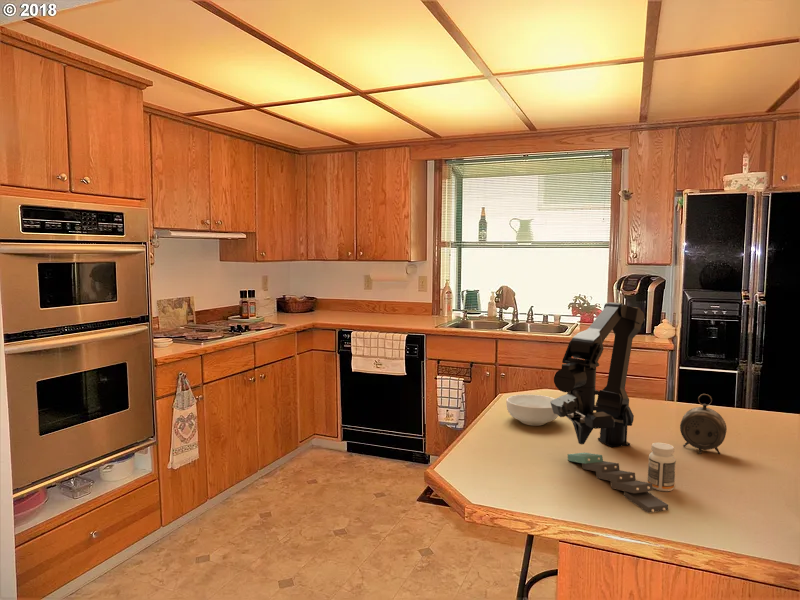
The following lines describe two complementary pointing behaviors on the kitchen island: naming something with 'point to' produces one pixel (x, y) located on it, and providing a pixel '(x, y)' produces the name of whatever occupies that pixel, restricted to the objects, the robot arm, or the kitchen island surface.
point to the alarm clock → (703, 428)
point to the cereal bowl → (531, 409)
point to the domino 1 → (585, 458)
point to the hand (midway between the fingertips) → (581, 444)
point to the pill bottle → (662, 467)
